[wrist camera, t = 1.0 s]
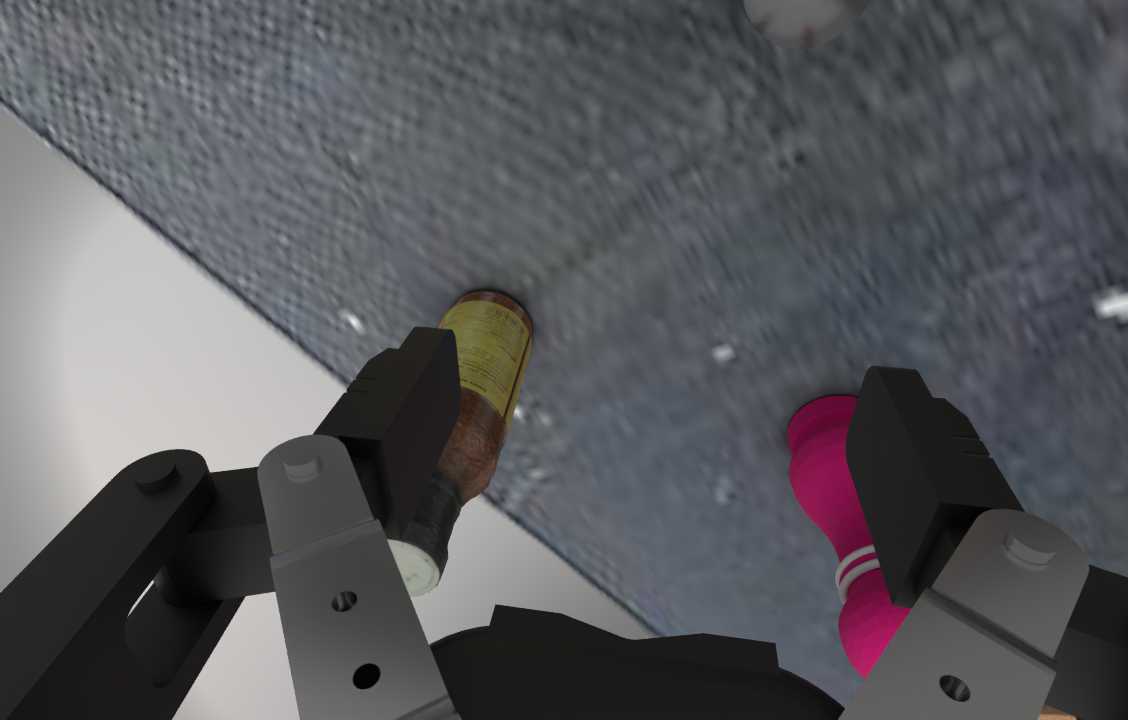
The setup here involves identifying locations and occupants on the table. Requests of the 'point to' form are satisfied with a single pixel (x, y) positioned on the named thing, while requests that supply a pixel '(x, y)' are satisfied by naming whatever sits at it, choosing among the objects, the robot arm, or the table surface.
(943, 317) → the table surface
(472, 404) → the sauce bottle
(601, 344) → the table surface
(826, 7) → the clevis pin
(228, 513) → the robot arm
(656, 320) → the table surface
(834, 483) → the pepper mill
